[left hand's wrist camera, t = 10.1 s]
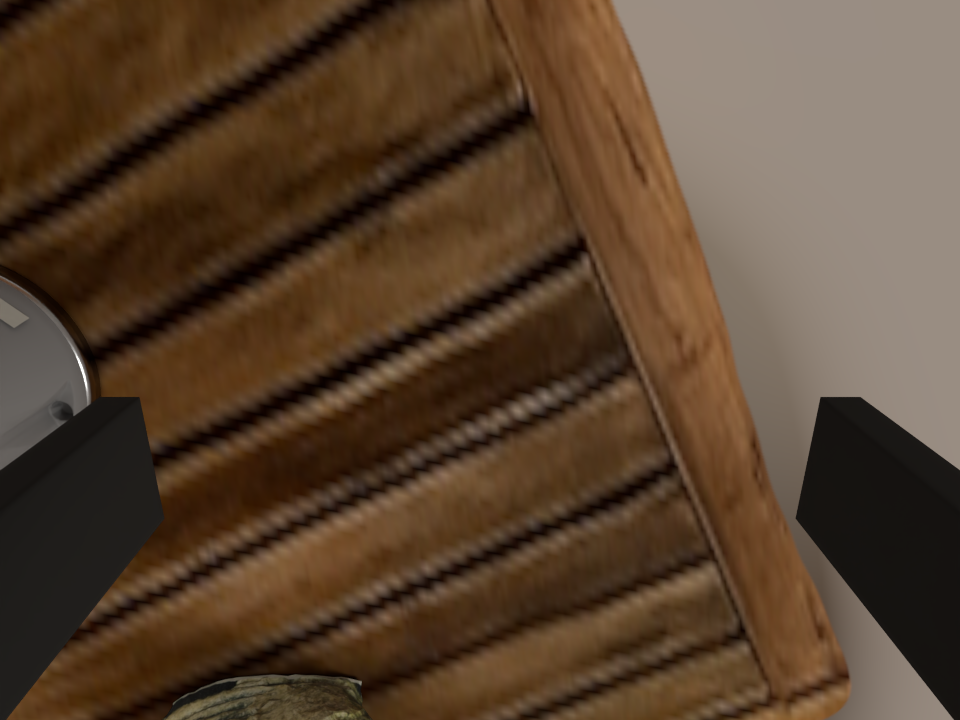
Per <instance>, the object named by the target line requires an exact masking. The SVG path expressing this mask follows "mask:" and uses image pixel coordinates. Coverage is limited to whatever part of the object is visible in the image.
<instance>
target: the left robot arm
mask: <svg viewBox="0 0 960 720" xmlns="http://www.w3.org/2000/svg"><path fill="white" fill-rule="evenodd" d="M163 519H164V515H163V510H162V505H161V500H160V495H159V490H158V485H157V481H156V476H155V471H154V466H153V461H152V456H151V451H150V446H149V442H148V437H147V432H146V427H145V422H144V417H143V412H142V408H141V403H140V398H139V397H100V380H99V374H98V370H97V366H96V363H95V360H94V357H93V354H92V352H91V350H90V347H89V345H88V343H87V341H86V340H85V338H84V336H83V334H82V333H81V331H80V330H79V328H78V327H77V325H76V324H75V322H74V321H73V320H72V319H71V317H70V316H69V315H68V314H67V313H66V311H65V310H64V309H63V308H62V307H61V306H60V305H59V304H58V303H57V302H56V301H55V300H54V299H53V298H51V297H50V296H49V295H48V294H47V293H45V292H44V291H43V290H42V289H40V288H39V287H38V286H36V285H35V284H33V283H32V282H30V281H29V280H27V279H25V278H24V277H22V276H20V275H18V274H17V273H15V272H13V271H10V270H8V269H6V268H4V267H1V266H0V720H6V719H7V718H8V717H9V715H10V714H11V713H12V711H13V710H14V709H15V708H16V706H17V705H18V704H19V703H20V701H21V700H22V699H23V697H24V696H25V695H26V694H27V692H28V691H29V690H30V689H31V687H32V686H33V685H34V683H35V682H36V681H37V680H38V678H39V677H40V676H41V675H42V673H43V672H44V671H45V669H46V668H47V667H48V666H49V664H50V663H51V662H52V661H53V659H54V658H55V657H56V655H57V654H58V653H59V652H60V650H61V649H62V648H63V647H64V645H65V644H66V643H67V642H68V640H69V639H70V638H71V636H72V635H73V634H74V633H75V631H76V630H77V629H78V628H79V626H80V625H81V624H82V622H83V621H84V620H85V619H86V617H87V616H88V615H89V614H90V612H91V611H92V610H93V608H94V607H95V606H96V605H97V603H98V602H99V601H100V600H101V598H102V597H103V596H104V594H105V593H106V592H107V591H108V589H109V588H110V587H111V586H112V584H113V583H114V582H115V580H116V579H117V578H118V577H119V575H120V574H121V573H122V572H123V570H124V569H125V568H126V567H127V565H128V564H129V563H130V561H131V560H132V559H133V558H134V556H135V555H136V554H137V553H138V551H139V550H140V549H141V547H142V546H143V545H144V544H145V542H146V541H147V540H148V539H149V537H150V536H151V535H152V533H153V532H154V531H155V530H156V528H157V527H158V526H159V525H160V523H161V522H162V521H163ZM796 519H797V521H798V522H799V523H800V525H801V526H802V527H803V528H804V530H805V531H806V532H807V533H808V535H809V536H810V537H811V539H812V540H813V541H814V542H815V544H816V545H817V546H818V547H819V549H820V550H821V551H822V552H823V554H824V555H825V556H826V558H827V559H828V560H829V561H830V563H831V564H832V565H833V567H834V568H835V569H836V570H837V572H838V573H839V574H840V575H841V577H842V578H843V579H844V580H845V582H846V583H847V584H848V586H849V587H850V588H851V589H852V591H853V592H854V593H855V594H856V596H857V597H858V598H859V600H860V601H861V602H862V603H863V605H864V606H865V607H866V608H867V610H868V611H869V612H870V614H871V615H872V616H873V617H874V619H875V620H876V621H877V622H878V624H879V625H880V626H881V628H882V629H883V630H884V631H885V633H886V634H887V635H888V636H889V638H890V639H891V640H892V642H893V643H894V644H895V645H896V647H897V648H898V649H899V650H900V652H901V653H902V654H903V655H904V657H905V658H906V659H907V661H908V662H909V663H910V664H911V666H912V667H913V668H914V669H915V671H916V672H917V673H918V675H919V676H920V677H921V678H922V680H923V681H924V682H925V683H926V685H927V686H928V687H929V688H930V690H931V691H932V692H933V694H934V695H935V696H936V697H937V699H938V700H939V701H940V703H941V704H942V705H943V706H944V708H945V709H946V710H947V711H948V713H949V714H950V715H951V717H952V718H953V719H954V720H960V470H959V469H957V468H956V467H955V466H953V465H952V464H951V463H949V462H948V461H946V460H945V459H944V458H942V457H941V456H940V455H938V454H937V453H936V452H934V451H933V450H932V449H930V448H929V447H927V446H926V445H925V444H923V443H922V442H921V441H919V440H918V439H917V438H915V437H914V436H913V435H911V434H910V433H908V432H907V431H906V430H904V429H903V428H902V427H900V426H899V425H898V424H896V423H895V422H893V421H892V420H891V419H889V418H888V417H887V416H885V415H884V414H883V413H881V412H880V411H879V410H877V409H876V408H874V407H873V406H872V405H870V404H869V403H868V402H866V401H865V400H864V399H862V398H861V397H821V398H820V403H819V408H818V412H817V417H816V422H815V427H814V432H813V437H812V442H811V446H810V451H809V456H808V461H807V466H806V471H805V476H804V481H803V486H802V490H801V495H800V500H799V505H798V510H797V515H796Z"/></svg>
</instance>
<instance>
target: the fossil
mask: <svg viewBox="0 0 960 720" xmlns="http://www.w3.org/2000/svg"><path fill="white" fill-rule="evenodd" d="M361 683H362V681H358V680H354V679H350V678H345V677H328V676H318V675H296V674H295V675H291V676H282V675H261V676H248V677H238V678H231V679H225V680H221V681H218V682H215V683H213V684H210V685H207V686H205V687H202V688H200V689H198V690H197V691H195V692H192V693H188V694H186V695H184V696H182V697H181V698H180V699H178V700H177V701H175V702H174V703H173V706H172V708H171V710H170V711H169V713H168V714H167V716H166V717H164V718H163V719H162V720H372V719H371V718H370V716H369V715H368V714H367V712H366V711H365V709H364V708H363V707H362V701H363V700H362V695H361V691H360V689H361Z"/></svg>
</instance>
